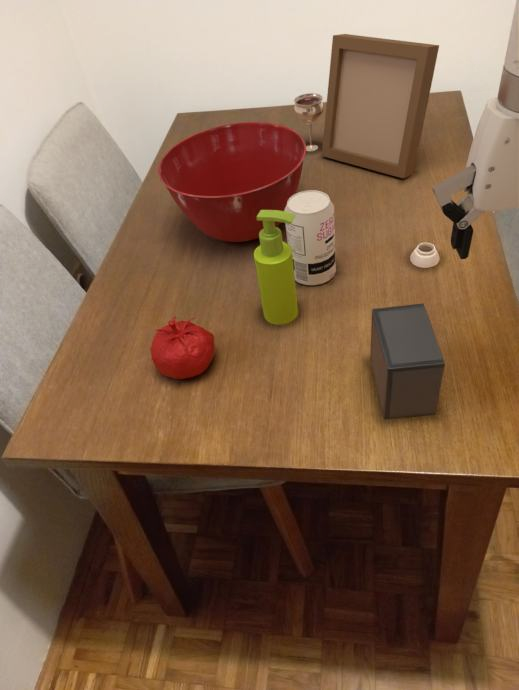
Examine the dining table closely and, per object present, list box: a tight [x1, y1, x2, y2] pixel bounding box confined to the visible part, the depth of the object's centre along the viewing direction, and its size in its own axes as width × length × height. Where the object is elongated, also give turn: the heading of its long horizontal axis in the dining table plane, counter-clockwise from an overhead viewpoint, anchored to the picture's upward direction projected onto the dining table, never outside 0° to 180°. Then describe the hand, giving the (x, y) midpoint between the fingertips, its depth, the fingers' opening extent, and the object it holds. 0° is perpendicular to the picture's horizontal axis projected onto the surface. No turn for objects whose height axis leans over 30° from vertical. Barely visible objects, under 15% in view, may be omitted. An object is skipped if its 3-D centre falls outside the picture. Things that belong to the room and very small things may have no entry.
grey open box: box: [369, 302, 446, 420], centre depth 72 cm, size 7×11×11 cm, turn 1°
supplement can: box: [284, 189, 337, 286], centre depth 91 cm, size 8×8×15 cm
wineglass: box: [293, 92, 324, 152], centre depth 125 cm, size 7×7×12 cm
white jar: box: [409, 242, 441, 269], centre depth 93 cm, size 5×3×5 cm
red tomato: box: [150, 315, 216, 380], centre depth 81 cm, size 10×10×9 cm
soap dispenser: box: [253, 210, 299, 326], centre depth 82 cm, size 6×7×20 cm
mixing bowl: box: [157, 121, 307, 243], centre depth 105 cm, size 28×28×15 cm
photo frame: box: [321, 33, 440, 179], centre depth 113 cm, size 15×22×25 cm
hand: (504, 246), depth 58 cm, fingers open, 9 cm apart
